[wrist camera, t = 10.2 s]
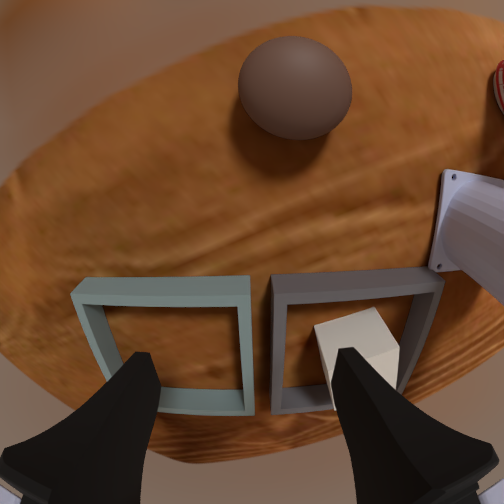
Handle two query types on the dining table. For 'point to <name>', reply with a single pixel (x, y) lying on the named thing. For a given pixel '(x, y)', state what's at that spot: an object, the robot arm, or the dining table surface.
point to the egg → (295, 88)
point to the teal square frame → (171, 295)
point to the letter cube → (359, 344)
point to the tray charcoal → (346, 289)
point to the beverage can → (499, 85)
